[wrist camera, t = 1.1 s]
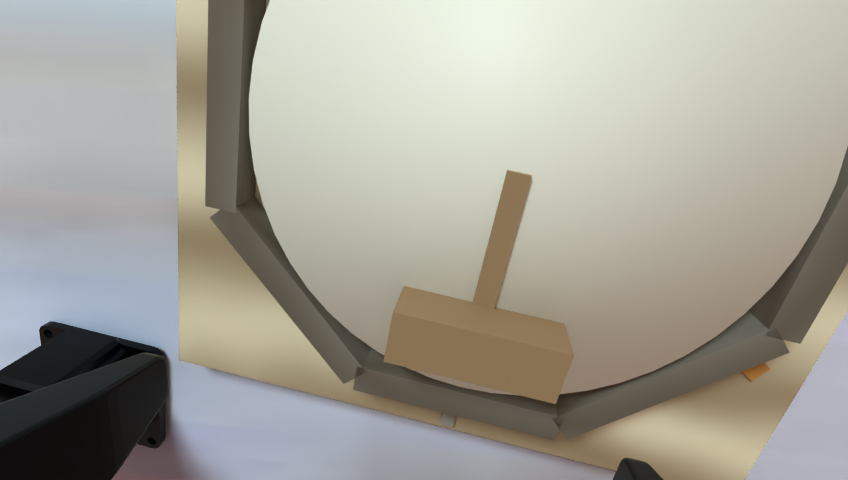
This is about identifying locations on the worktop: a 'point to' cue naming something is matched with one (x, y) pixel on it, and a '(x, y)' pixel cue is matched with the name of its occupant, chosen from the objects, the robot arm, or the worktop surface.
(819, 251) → the dial base
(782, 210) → the dial
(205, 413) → the worktop surface
